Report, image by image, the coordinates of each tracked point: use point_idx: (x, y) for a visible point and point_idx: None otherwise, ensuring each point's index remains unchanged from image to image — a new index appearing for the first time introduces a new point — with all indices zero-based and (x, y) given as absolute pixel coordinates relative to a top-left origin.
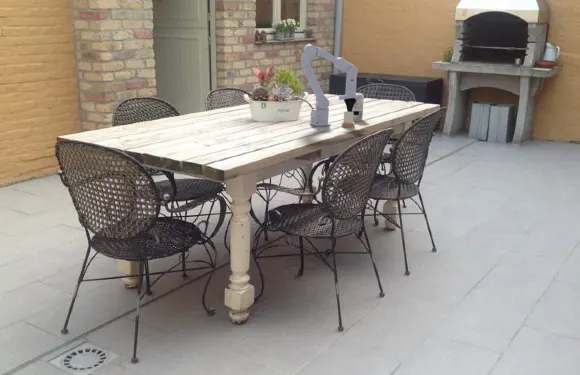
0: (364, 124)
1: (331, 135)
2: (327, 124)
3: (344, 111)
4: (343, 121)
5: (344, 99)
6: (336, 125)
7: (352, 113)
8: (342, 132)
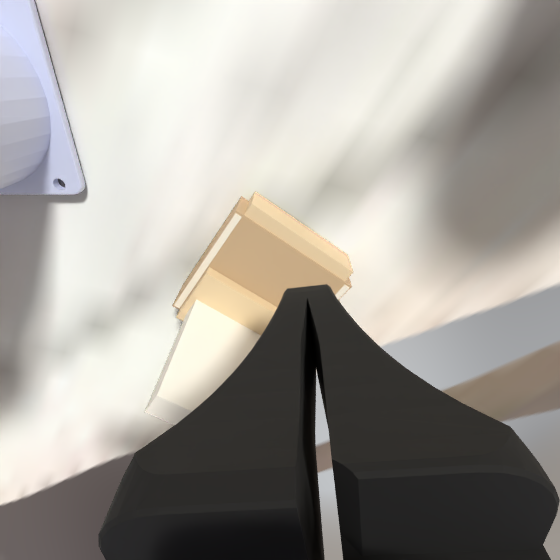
0: (517, 226)
1: (8, 476)
2: (34, 174)
3: (160, 396)
4: (205, 280)
5: (114, 545)
6: (159, 191)
7: None
8: (108, 437)
